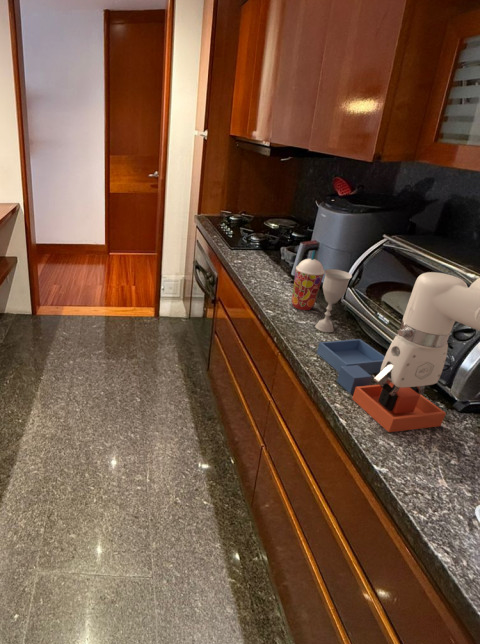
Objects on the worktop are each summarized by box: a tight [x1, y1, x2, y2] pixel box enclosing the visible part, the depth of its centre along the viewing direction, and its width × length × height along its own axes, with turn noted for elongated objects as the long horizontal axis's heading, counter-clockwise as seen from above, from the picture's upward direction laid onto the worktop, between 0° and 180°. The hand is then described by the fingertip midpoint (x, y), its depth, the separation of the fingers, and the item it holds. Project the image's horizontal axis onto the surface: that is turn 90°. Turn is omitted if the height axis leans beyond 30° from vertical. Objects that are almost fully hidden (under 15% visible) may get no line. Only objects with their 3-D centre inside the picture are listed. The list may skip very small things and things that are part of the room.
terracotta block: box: [378, 382, 420, 414], centre depth 84 cm, size 4×4×4 cm
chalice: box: [314, 268, 353, 333], centre depth 115 cm, size 7×7×18 cm
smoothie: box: [291, 250, 325, 311], centre depth 127 cm, size 8×8×20 cm
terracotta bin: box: [351, 383, 447, 433], centre depth 84 cm, size 12×10×4 cm
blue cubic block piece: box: [336, 365, 373, 395], centre depth 92 cm, size 4×4×4 cm
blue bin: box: [316, 338, 385, 375], centre depth 101 cm, size 12×10×4 cm
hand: (396, 404), depth 84 cm, fingers closed on terracotta block, 4 cm apart
